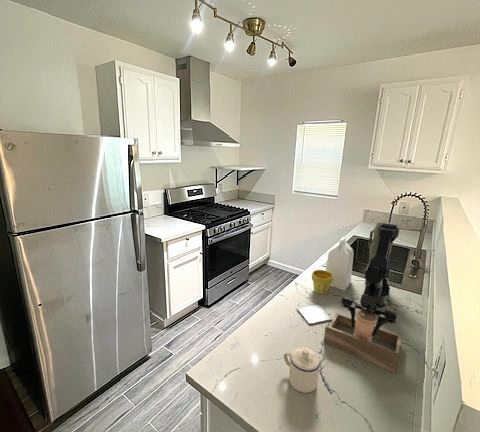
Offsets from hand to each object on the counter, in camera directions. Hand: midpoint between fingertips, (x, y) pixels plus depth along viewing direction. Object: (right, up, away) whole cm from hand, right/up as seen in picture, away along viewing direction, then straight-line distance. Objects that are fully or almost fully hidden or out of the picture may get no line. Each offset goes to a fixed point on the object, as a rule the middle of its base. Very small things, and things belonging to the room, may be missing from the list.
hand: (362, 332), depth 96 cm
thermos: (+28, +5, +47) cm, 55 cm away
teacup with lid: (-26, -10, -12) cm, 31 cm away
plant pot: (-3, +3, +40) cm, 40 cm away
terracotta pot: (+1, -6, +3) cm, 7 cm away
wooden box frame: (+1, -6, +4) cm, 7 cm away
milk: (+9, +6, +49) cm, 50 cm away
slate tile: (-12, -1, +20) cm, 24 cm away
